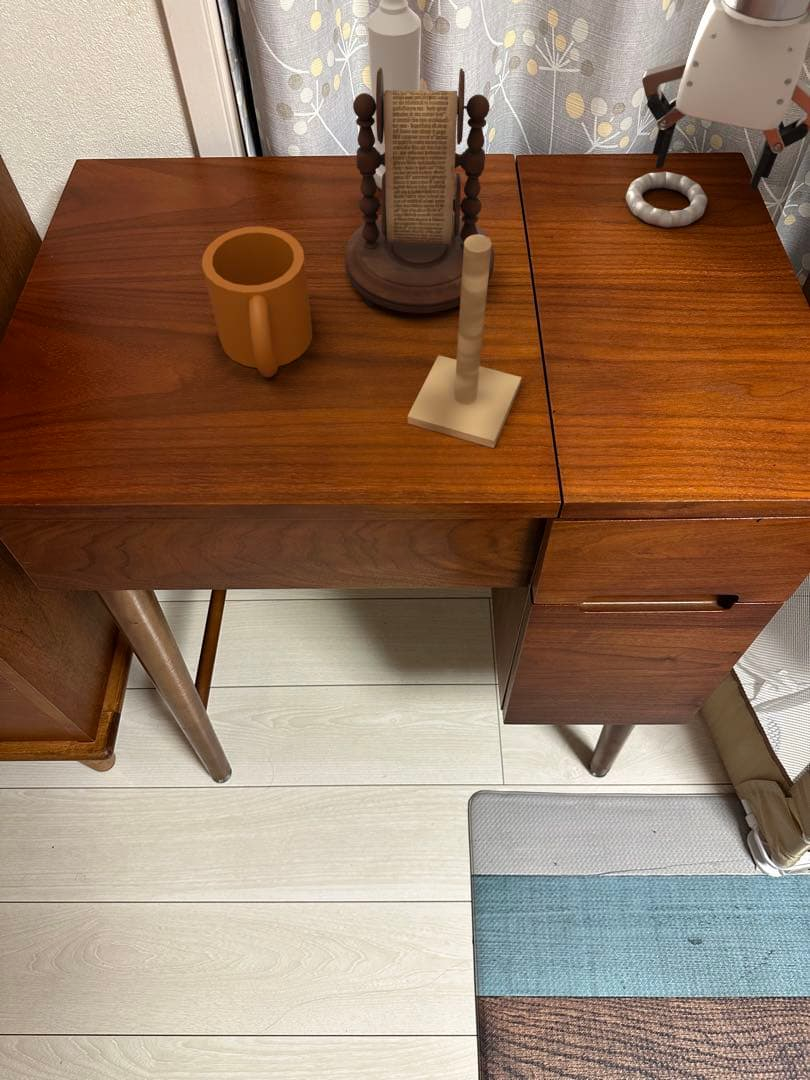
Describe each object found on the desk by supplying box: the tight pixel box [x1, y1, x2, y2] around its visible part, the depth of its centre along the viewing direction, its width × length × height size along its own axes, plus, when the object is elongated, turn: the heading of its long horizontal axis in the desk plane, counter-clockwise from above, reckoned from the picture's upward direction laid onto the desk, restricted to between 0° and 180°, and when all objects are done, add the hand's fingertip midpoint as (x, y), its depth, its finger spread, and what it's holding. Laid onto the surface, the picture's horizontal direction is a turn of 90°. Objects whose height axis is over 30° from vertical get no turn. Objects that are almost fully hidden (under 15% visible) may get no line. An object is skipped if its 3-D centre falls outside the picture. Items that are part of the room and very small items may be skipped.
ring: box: [625, 171, 708, 229], centre depth 87 cm, size 8×8×2 cm
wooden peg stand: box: [407, 235, 522, 449], centre depth 66 cm, size 8×8×17 cm
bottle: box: [366, 0, 422, 191], centre depth 80 cm, size 5×5×25 cm
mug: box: [201, 225, 313, 378], centre depth 73 cm, size 9×12×9 cm
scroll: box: [344, 67, 495, 314], centre depth 74 cm, size 15×15×20 cm
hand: (707, 171), depth 84 cm, fingers open, 9 cm apart
